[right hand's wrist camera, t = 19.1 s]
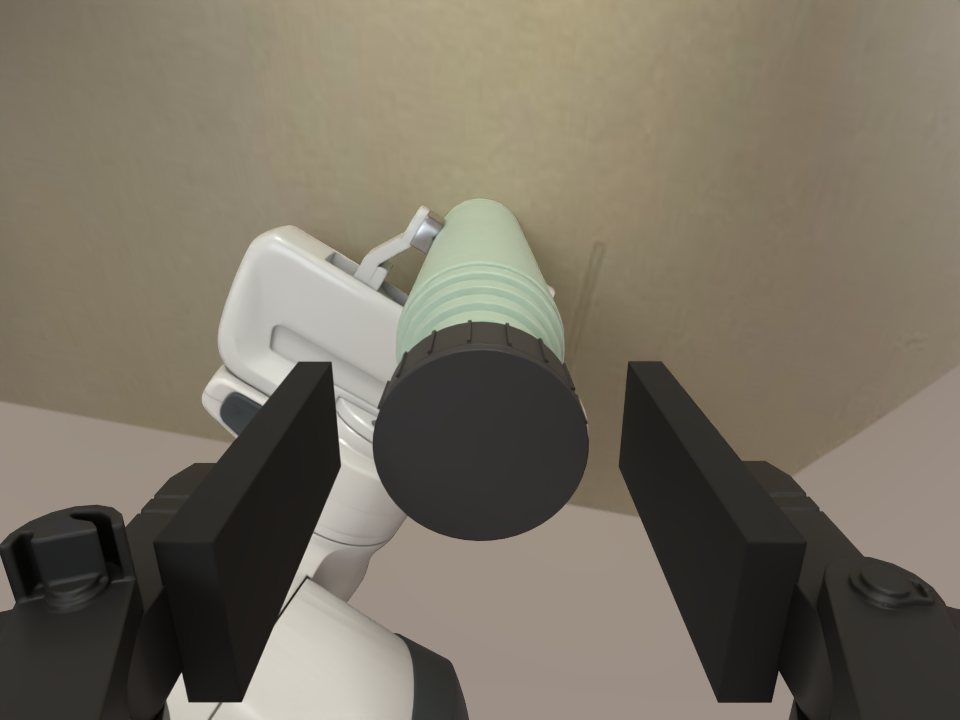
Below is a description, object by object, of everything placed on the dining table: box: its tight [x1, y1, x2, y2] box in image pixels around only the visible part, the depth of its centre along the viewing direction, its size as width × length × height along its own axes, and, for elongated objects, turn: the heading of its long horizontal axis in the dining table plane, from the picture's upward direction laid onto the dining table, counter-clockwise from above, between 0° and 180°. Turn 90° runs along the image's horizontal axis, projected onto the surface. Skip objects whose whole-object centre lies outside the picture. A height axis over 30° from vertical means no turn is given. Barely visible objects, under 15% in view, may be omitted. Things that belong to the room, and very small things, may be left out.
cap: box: [373, 320, 589, 541], centre depth 13 cm, size 5×5×2 cm
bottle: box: [396, 198, 565, 365], centre depth 25 cm, size 5×5×26 cm
